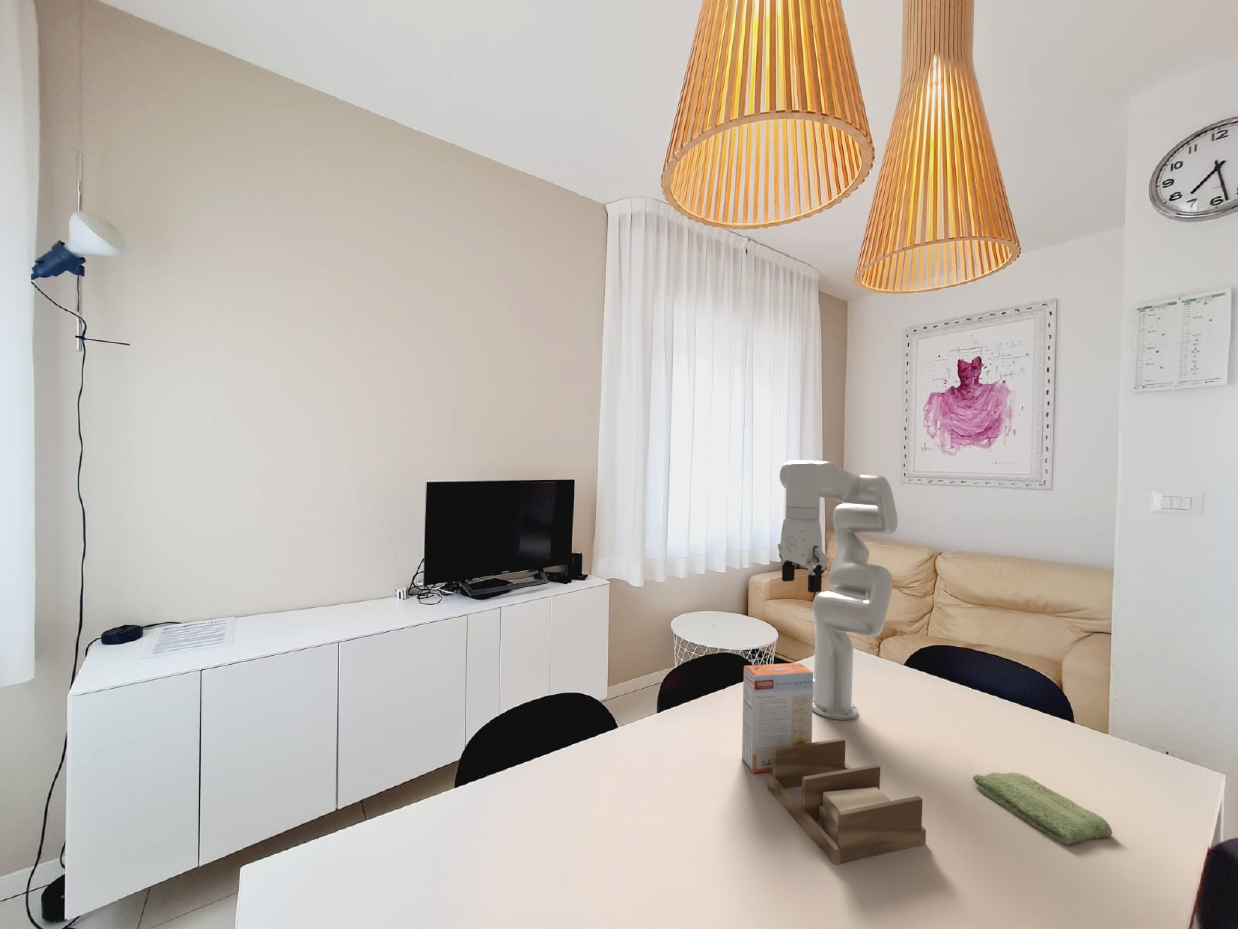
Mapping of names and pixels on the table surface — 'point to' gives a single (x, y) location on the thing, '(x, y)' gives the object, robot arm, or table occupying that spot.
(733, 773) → the table surface
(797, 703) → the cracker box
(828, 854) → the rack
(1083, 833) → the washcloth
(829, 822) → the wooden block
